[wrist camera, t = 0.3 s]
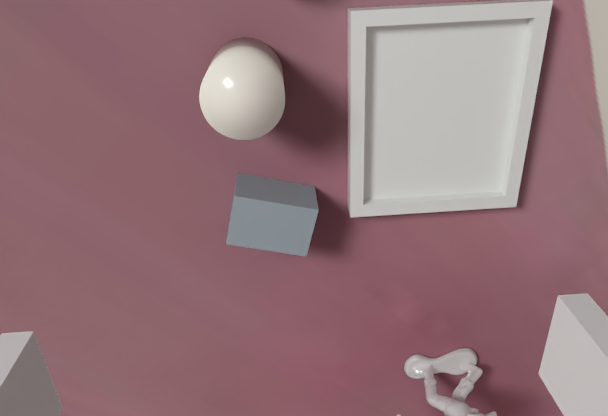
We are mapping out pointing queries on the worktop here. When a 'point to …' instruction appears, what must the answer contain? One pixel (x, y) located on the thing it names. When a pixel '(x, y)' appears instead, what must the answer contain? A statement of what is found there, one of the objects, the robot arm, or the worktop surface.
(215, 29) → the worktop surface
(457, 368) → the figurine
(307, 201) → the slate block
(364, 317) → the worktop surface
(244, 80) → the white domed cylinder
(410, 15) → the tray
